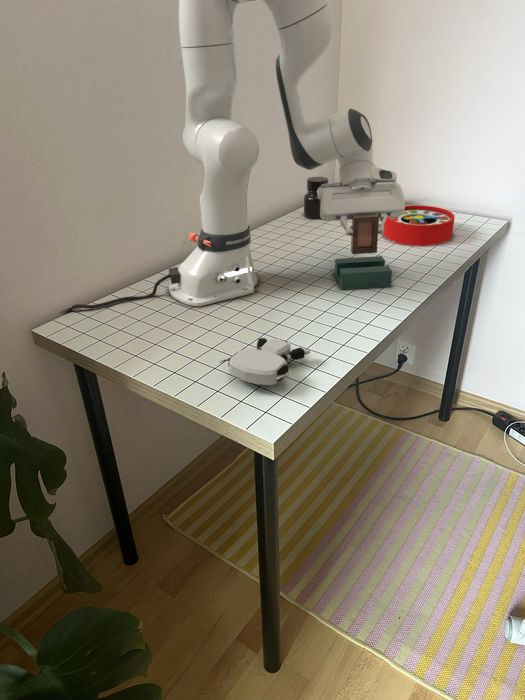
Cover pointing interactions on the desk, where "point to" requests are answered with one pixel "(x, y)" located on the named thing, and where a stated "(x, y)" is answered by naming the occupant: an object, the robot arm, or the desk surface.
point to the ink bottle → (313, 197)
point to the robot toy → (264, 361)
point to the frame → (364, 234)
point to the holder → (362, 272)
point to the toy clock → (420, 226)
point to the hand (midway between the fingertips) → (365, 233)
